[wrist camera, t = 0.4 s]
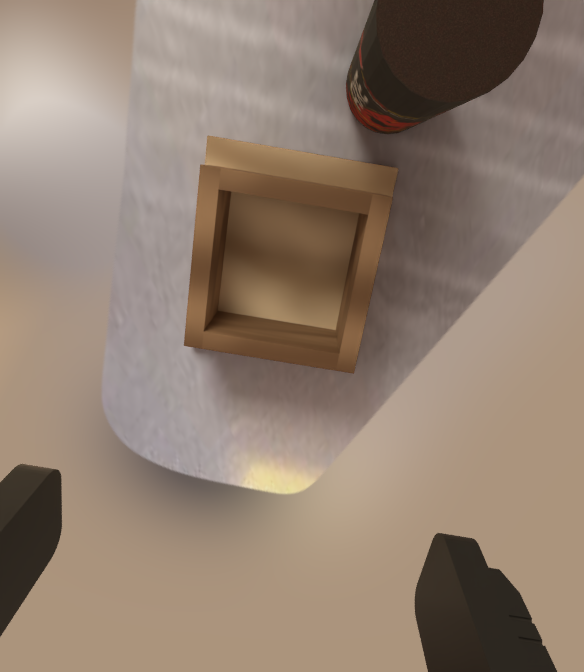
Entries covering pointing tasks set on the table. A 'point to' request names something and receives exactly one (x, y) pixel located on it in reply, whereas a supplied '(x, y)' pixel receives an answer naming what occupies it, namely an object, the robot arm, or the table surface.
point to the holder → (285, 253)
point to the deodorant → (435, 57)
